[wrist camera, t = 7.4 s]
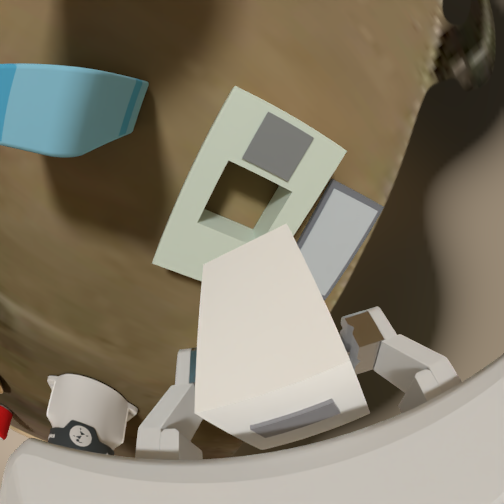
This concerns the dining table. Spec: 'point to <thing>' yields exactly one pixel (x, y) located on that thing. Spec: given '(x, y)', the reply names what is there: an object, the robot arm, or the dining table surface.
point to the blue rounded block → (65, 108)
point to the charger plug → (270, 348)
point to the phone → (336, 233)
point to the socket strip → (258, 161)
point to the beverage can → (4, 421)
